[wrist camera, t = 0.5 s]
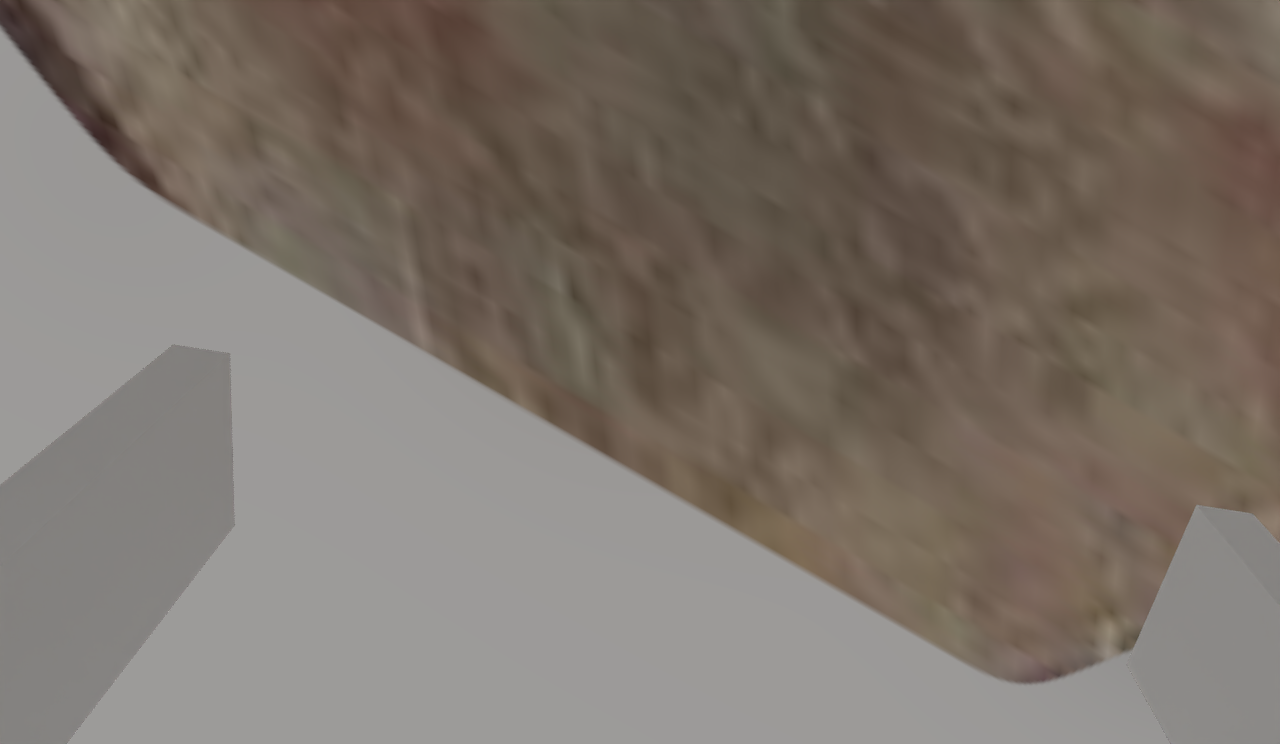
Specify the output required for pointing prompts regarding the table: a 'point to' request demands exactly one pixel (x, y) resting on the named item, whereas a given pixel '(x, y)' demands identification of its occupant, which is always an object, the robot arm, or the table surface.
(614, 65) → the table surface
